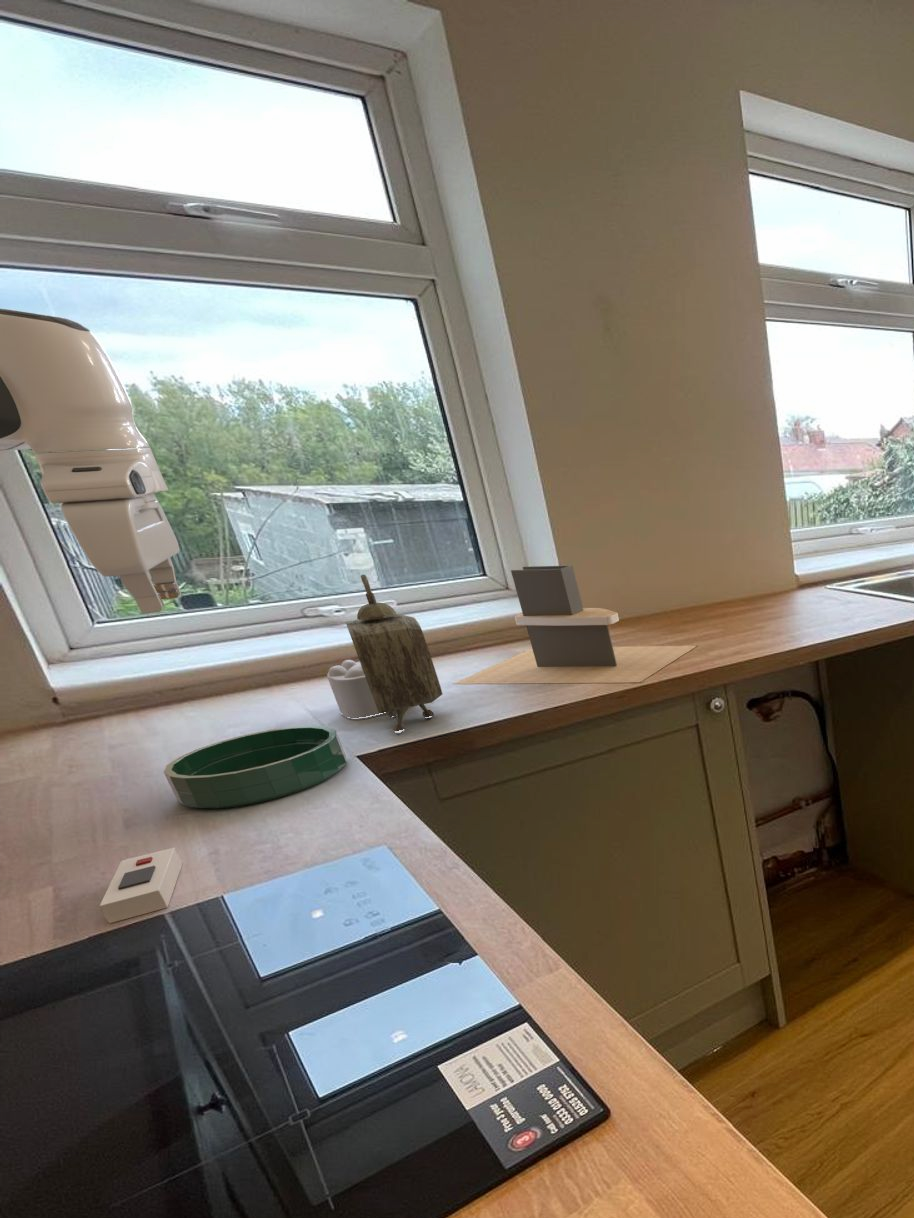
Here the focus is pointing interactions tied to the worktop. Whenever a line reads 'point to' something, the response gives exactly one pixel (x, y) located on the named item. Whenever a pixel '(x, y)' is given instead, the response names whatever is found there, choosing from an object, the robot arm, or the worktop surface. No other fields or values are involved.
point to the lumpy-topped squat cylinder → (352, 690)
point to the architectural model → (569, 638)
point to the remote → (141, 885)
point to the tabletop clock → (393, 659)
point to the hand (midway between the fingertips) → (163, 604)
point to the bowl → (255, 767)
